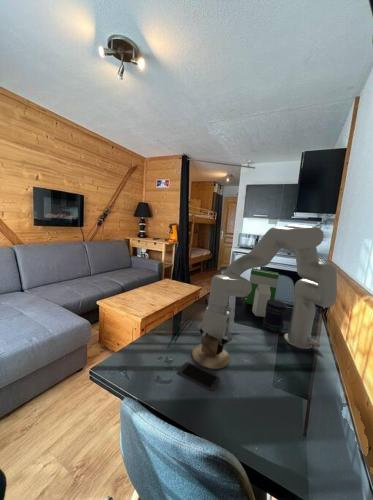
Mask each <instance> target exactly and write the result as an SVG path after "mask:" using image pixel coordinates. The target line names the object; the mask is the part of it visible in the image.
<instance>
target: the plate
mask: <svg viewBox="0 0 373 500" xmlns="http://www.w3.org/2000/svg"><path fill="white" fill-rule="evenodd" d="M201 349H202V343H199V344H197V345H195V346H194V347H193V348H192V351H191V353H192V354H191V355H192V358H193V360H194V361H195V362H196V363H197V364H199V365H200V366H202V367H204V368H207V369H211V370H221V369H224V368H225V367H227V366H228V365H229V364H230V359H231V358H230V354H229V353H228V352H227V350H225V349H224V348H223V351H222V353H220V354H219V355H217V356H216V357H215V358H214V357H212V356H210V355H208V354H206V353H204V352H202V351H201Z"/></svg>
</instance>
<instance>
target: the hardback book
mask: <svg viewBox="0 0 373 500" xmlns="http://www.w3.org/2000/svg"><path fill="white" fill-rule="evenodd" d="M279 275H280V274H279V272H276V271H275V272H274V271H270V270H263V269H260V268H259V269H258V268H251V270H250V276H249V280H248V281H249V282H250V283H251V285H252V291H251V293H250V294H249V295H247V296H246V301H245V304H249V305H252V306H253V303H254V297H255V291H256V288H257V287H258V284H260V285H268V286H270V291H271V296H270V300H275V297H276V291H277V285H278V281H279Z"/></svg>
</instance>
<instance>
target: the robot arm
mask: <svg viewBox="0 0 373 500" xmlns="http://www.w3.org/2000/svg"><path fill="white" fill-rule="evenodd" d="M324 236H325V235H324V232H323V230H322V228H320V227H318V226H313V225H304V224H303V225H302V224H286V225H285V226H273V227H270V228H269V229H268V230H267V231H266V232H265V233H264V235H263V236H262V237H261V239H259V241H257V243H256V244H255V245H254V247H253V248H252V249H251V250H250V251H249V252H248V253H245V254H244V255H241V256H239V257H238V258H237V259H235V260H234V261H232V262H231V263H230V264H229V265H228V267H227V268H225V270H224V271H223V273H222V274H215V275H213V276H212V278H211V284H210V288H209V290H210V291H209V297H208V304H207V307H206V308H205V311H204V314H203V317H202V321H201V322H199V323H198V324H196V327H197V329H198V330H199V332H200V336H201V338H202V339H201V343H202V342H203V337H204V336H205V335H206V334H211V335H213V336H215V337H218V339H219V345H218V349H217V354H218V355H219V354H220V353H222V351H223V349H224V345H226V344H228V343H230V342H232V341H233V340H234V337H233V336H232V334H231V333H230V330H229V329H230V312H231V311H232V308H231V307H229V300H230V297H236V298H237V297H238V298H245V297H247V295H249V294H250V293H251V291H252V285H251V283H250V282H249V281H250V280H248V279H247V278H246V277H243V276H241V275H242V274H243V273H245V272H246V271H248V270H250V269H251V270H252V268H254V269H257V268H261V267H266V266H268V265H269V264H270V263H271V261H272V260H273V259H274V257H276V255H277V254H278V252H279V251H280V250H281V249H283V250H286V251H294V252H295V258H296V262H295V263H296V272H297V275H298V276H299V277H300V279H299V280H297V281H296V282H295V285H294V290H293V291H294V292H293V293H294V297H293V298H294V301H293V307H292V310H291V311H292V312H291V317H290V322H289V327H288V332H287V333H285V334H284V335H283V339H284V341H285V342H286V343H288V344H289V345H291V346H293V347H295V348H297V349H301V350H302V349H303V350H309V349H310V350H311V349H312V347H313V346H315V347H318V348H320V347H321V342H318V341H319V340H317V339H314V338H312V331H313V330H312V329H313V325H314V322H315V321H314V320H315V316H316V305H317V306H319V307H322V308H331V307H333V305H335V303H336V301H337V297H338V295H337V294H338V289H337V288H338V285H337V284H338V274H337V273H338V272H337V270H336V268H335V266H334V265H332V264H331V263H329V262H326V261H322V260H319V259H318V258H319V257H318V248H317V247H319V246H320V245H321V244H322V242H323V240H324ZM225 336H226V338H225Z"/></svg>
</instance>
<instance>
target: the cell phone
mask: <svg viewBox="0 0 373 500" xmlns="http://www.w3.org/2000/svg"><path fill="white" fill-rule="evenodd" d="M176 374H177V375H179V376H180V377H182V378H185V379H187V380H189V381H190V382H192V383H195V384H196V385H198V386H200V387H201V388H204V389H205V390H208V391H210V392H214V391H215V389H216V387H217V386H218V385H219V383H220V381H221V378H220V377H219V376H218V375H216V374H214V373H211V372H209V371H207V370H205V369H204V368H201V367H199V366H196V364H193V363H191V362H188V361H186V362H184V363H183V365H182V366H181V367H180V368H179V369H178V370H177V372H176Z"/></svg>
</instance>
